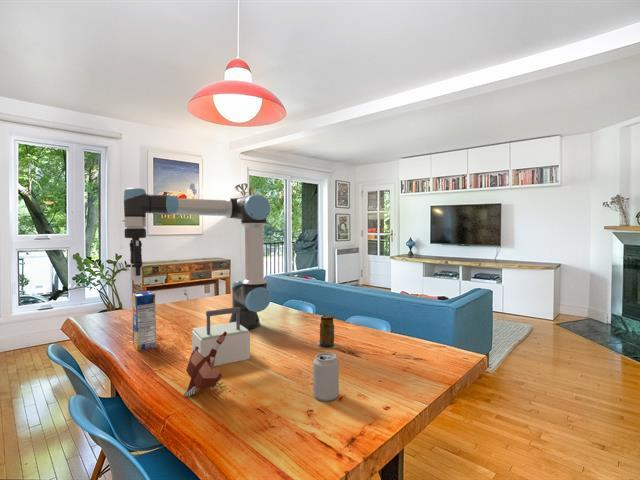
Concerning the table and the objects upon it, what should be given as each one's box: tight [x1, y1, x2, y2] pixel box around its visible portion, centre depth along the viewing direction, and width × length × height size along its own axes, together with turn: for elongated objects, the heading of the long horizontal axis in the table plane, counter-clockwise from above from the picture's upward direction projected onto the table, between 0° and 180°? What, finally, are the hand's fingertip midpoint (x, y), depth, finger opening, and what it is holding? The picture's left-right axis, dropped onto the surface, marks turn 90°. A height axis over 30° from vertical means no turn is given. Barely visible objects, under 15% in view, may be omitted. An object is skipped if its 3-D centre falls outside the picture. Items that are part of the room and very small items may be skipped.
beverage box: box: [131, 290, 157, 352], centre depth 146 cm, size 7×11×22 cm, turn 36°
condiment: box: [316, 314, 339, 350], centre depth 147 cm, size 7×8×12 cm
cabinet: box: [191, 330, 251, 367], centre depth 133 cm, size 18×14×10 cm
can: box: [312, 352, 340, 402], centre depth 102 cm, size 8×8×12 cm
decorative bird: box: [183, 332, 227, 398], centre depth 106 cm, size 28×18×15 cm, turn 33°
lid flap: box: [192, 307, 250, 340], centre depth 132 cm, size 17×14×9 cm
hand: (136, 281), depth 138 cm, fingers open, 13 cm apart
